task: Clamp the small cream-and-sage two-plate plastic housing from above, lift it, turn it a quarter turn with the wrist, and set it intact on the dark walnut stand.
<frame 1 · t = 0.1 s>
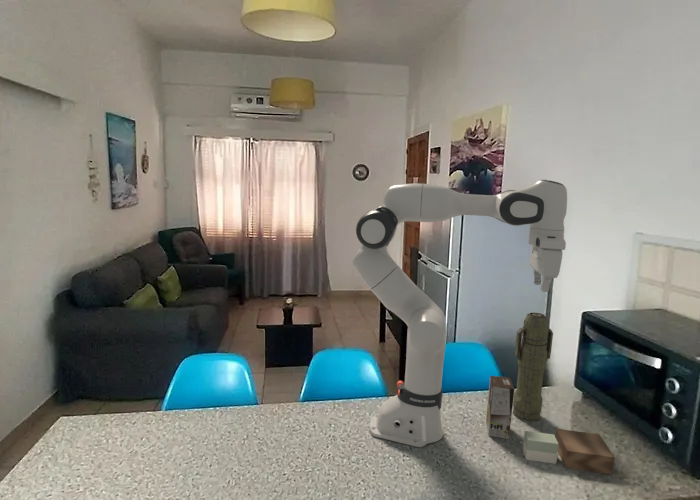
hand: (540, 287, 132), 48 cm above the kitchen counter, tool pointing down, fingers open, 8 cm apart
housing: (539, 456, 133), on the kitchen counter
walnut stand: (581, 458, 133), on the kitchen counter
coffee box: (497, 430, 147), on the kitchen counter
thermos: (525, 415, 158), on the kitchen counter
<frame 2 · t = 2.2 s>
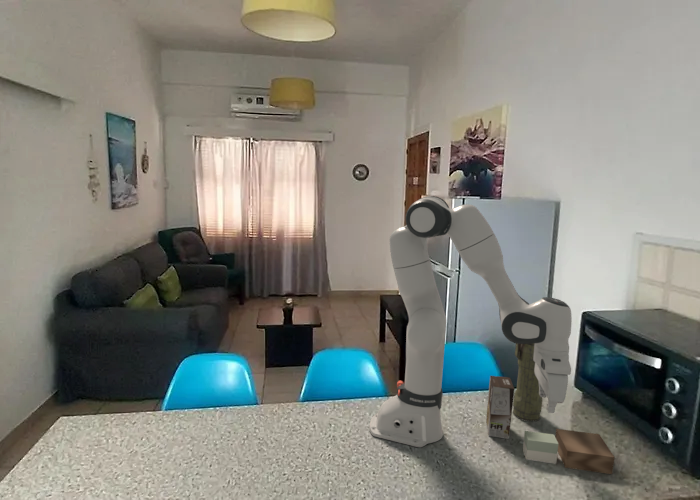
hand: (546, 403, 131), 16 cm above the kitchen counter, tool pointing down, fingers open, 8 cm apart
nothing on the kitchen counter moved.
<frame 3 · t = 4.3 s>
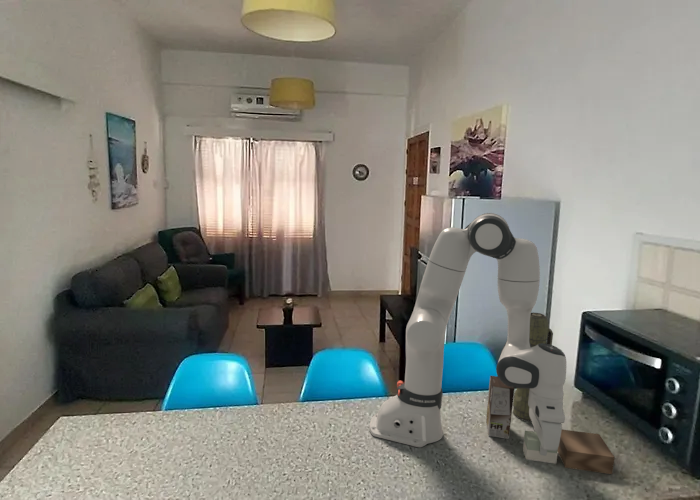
hand: (540, 447, 133), 3 cm above the kitchen counter, tool pointing down, fingers closed on housing, 5 cm apart
housing: (539, 456, 133), on the kitchen counter, touching gripper
everything else where it was.
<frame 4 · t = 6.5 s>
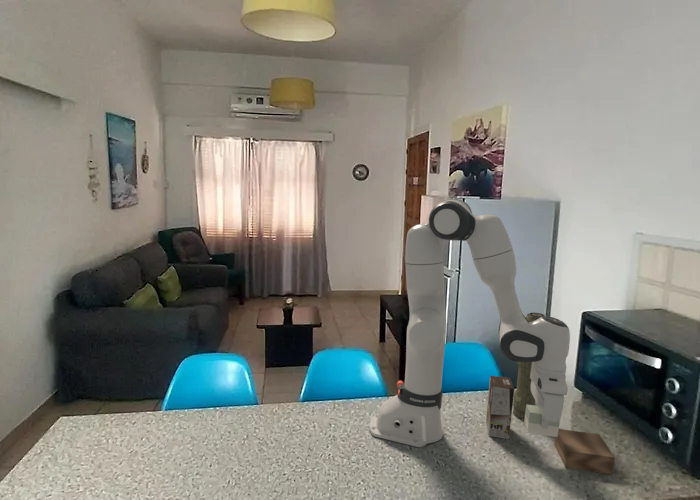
hand: (541, 421, 132), 10 cm above the kitchen counter, tool pointing down, fingers closed on housing, 5 cm apart
housing: (540, 430, 132), point 8 cm above the kitchen counter, touching gripper
everything else where it was.
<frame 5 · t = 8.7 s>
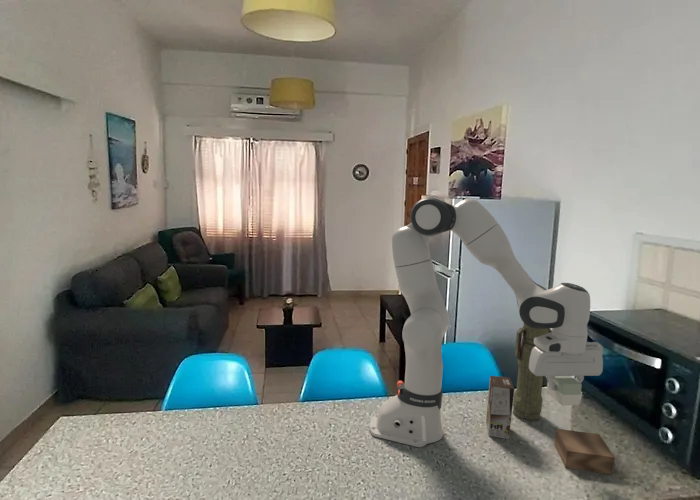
hand: (563, 389, 131), 20 cm above the kitchen counter, tool pointing down, fingers closed on housing, 5 cm apart
housing: (562, 398, 131), point 18 cm above the kitchen counter, touching gripper
everything else where it was.
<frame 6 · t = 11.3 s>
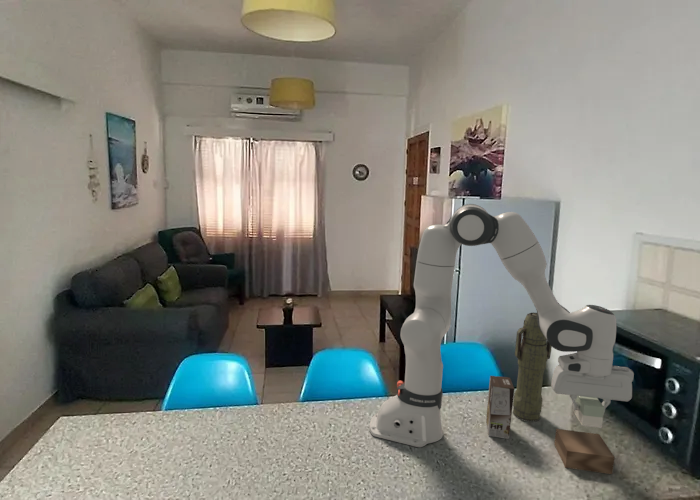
hand: (588, 410, 131), 14 cm above the kitchen counter, tool pointing down, fingers closed on housing, 5 cm apart
housing: (587, 419, 132), point 12 cm above the kitchen counter, touching gripper
everything else where it was.
when the fingers open (9 cm above the kitchen counter, at t = 13.3 s): housing drops 1 cm, resting on walnut stand.
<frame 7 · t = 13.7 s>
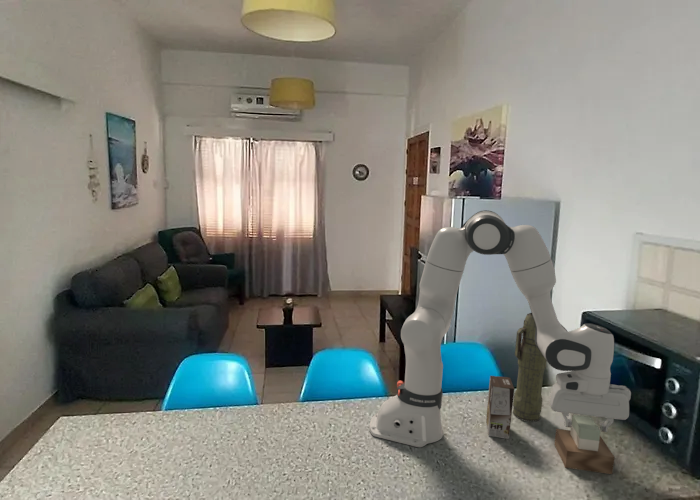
hand: (585, 428, 132), 9 cm above the kitchen counter, tool pointing down, fingers open, 8 cm apart
housing: (583, 442, 133), point 5 cm above the kitchen counter, touching walnut stand
everything else where it was.
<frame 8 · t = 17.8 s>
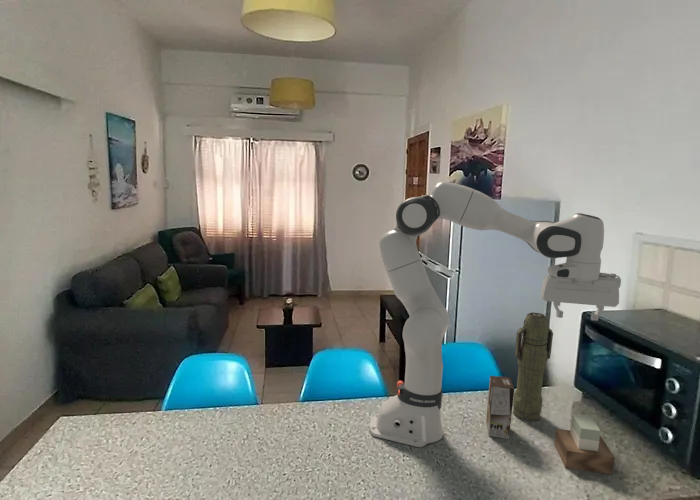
hand: (576, 318, 134), 39 cm above the kitchen counter, tool pointing down, fingers open, 8 cm apart
nothing on the kitchen counter moved.
at the end: housing inside the target area on the walnut stand (0.1 cm from its centre), point 5.0 cm above the walnut stand's base; housing tilted 0°; the gripper is holding nothing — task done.
